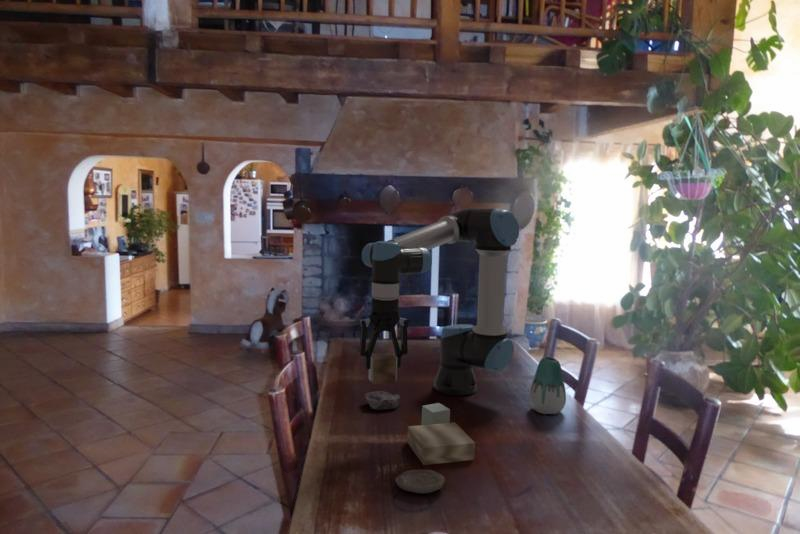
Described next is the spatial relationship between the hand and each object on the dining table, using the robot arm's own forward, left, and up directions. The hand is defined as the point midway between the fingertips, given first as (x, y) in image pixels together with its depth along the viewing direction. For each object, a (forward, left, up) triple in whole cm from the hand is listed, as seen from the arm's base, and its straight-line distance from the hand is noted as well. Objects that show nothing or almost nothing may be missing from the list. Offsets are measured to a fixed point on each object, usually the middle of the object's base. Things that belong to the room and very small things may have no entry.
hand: (382, 379), depth 162 cm
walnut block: (0, 0, 0) cm, 0 cm away
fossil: (-3, +30, -17) cm, 34 cm away
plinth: (-14, +12, -17) cm, 25 cm away
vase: (-58, -10, -17) cm, 61 cm away
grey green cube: (-18, -4, -17) cm, 25 cm away
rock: (-6, -23, -17) cm, 30 cm away
